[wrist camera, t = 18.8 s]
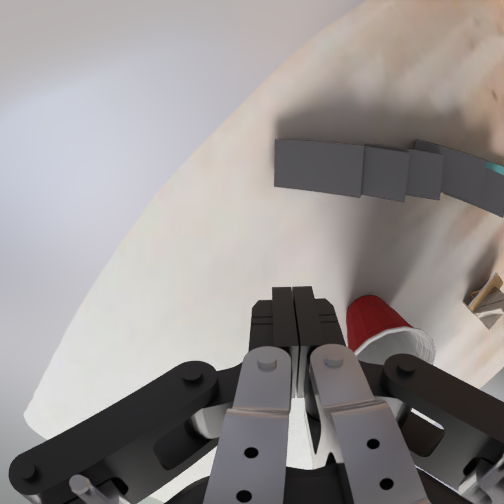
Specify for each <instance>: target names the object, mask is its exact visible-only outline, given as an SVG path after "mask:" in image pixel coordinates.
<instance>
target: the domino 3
mask: <svg viewBox="0 0 504 504" xmlns="http://www.w3.org/2000/svg"><path fill="white" fill-rule="evenodd" d="M364 146H369V147H376V148H383V149H390V150H396V151H402V152H408V153H410V155H409V166H408V176H407V184H406V193H405V195H409V196H415V197H422V198H428V199H434V200H439V198H440V190H441V182H442V172H443V160H444V155H442V154H439V153H433V152H427V151H421V150H414V149H408V148H401V147H393V146H385V145H377V144H367V143H364Z"/></svg>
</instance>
